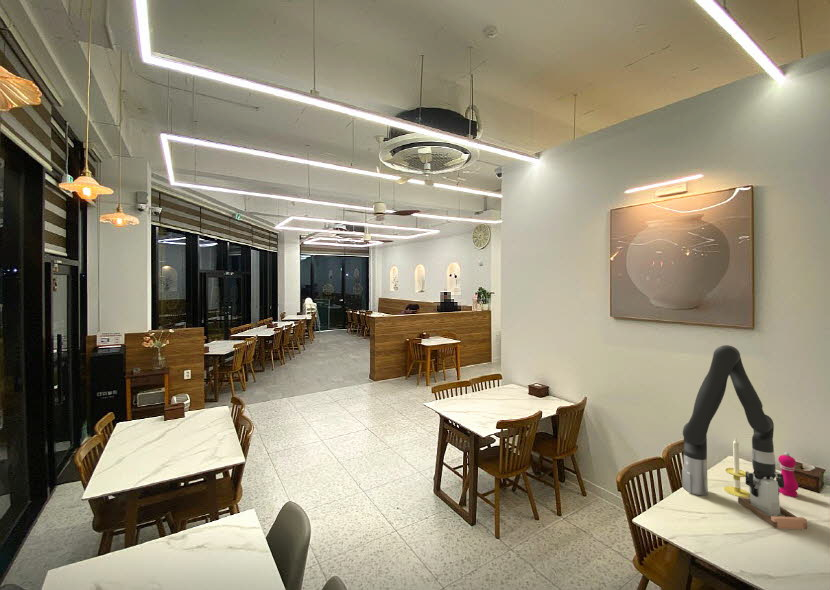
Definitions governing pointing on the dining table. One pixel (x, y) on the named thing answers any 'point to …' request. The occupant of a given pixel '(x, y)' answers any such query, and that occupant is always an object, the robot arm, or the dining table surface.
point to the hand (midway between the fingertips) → (765, 496)
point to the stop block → (790, 522)
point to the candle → (736, 474)
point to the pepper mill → (788, 475)
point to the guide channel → (747, 504)
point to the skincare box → (766, 497)
